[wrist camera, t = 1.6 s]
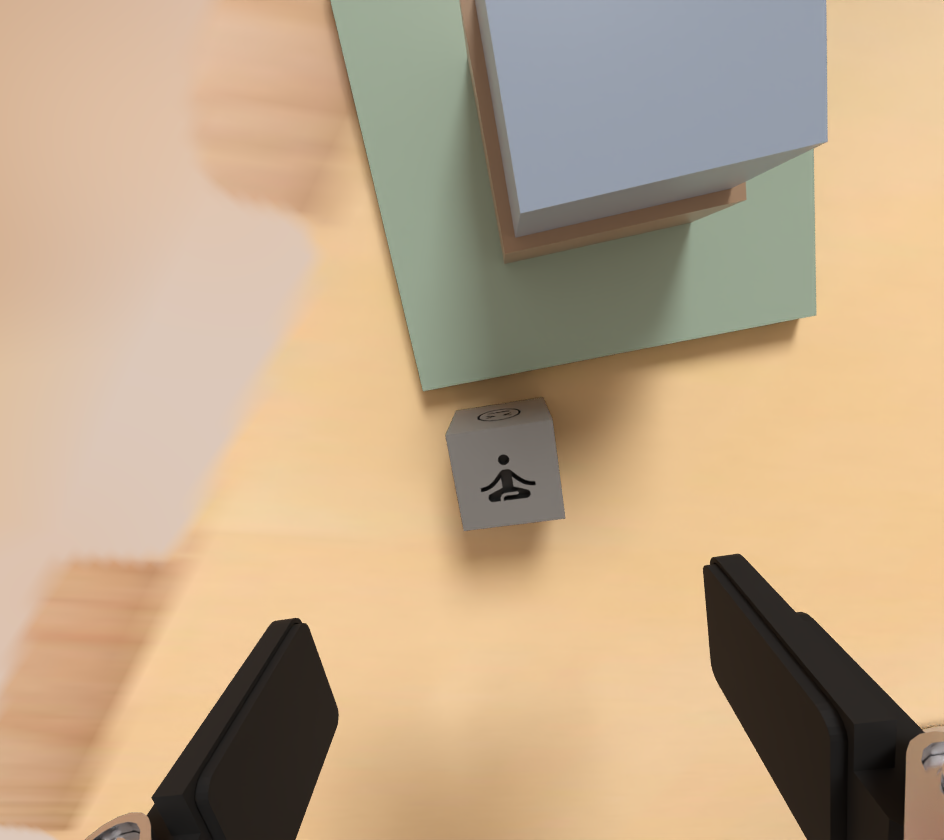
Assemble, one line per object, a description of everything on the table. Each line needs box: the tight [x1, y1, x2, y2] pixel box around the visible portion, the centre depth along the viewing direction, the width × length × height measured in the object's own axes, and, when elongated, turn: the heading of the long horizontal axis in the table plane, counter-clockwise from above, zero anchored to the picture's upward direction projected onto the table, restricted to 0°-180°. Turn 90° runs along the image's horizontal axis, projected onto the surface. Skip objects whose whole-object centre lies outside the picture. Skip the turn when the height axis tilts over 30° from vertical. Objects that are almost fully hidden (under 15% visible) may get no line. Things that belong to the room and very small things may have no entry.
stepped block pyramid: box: [330, 0, 828, 391], centre depth 16 cm, size 20×20×11 cm
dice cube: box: [445, 397, 565, 531], centre depth 24 cm, size 5×5×5 cm
